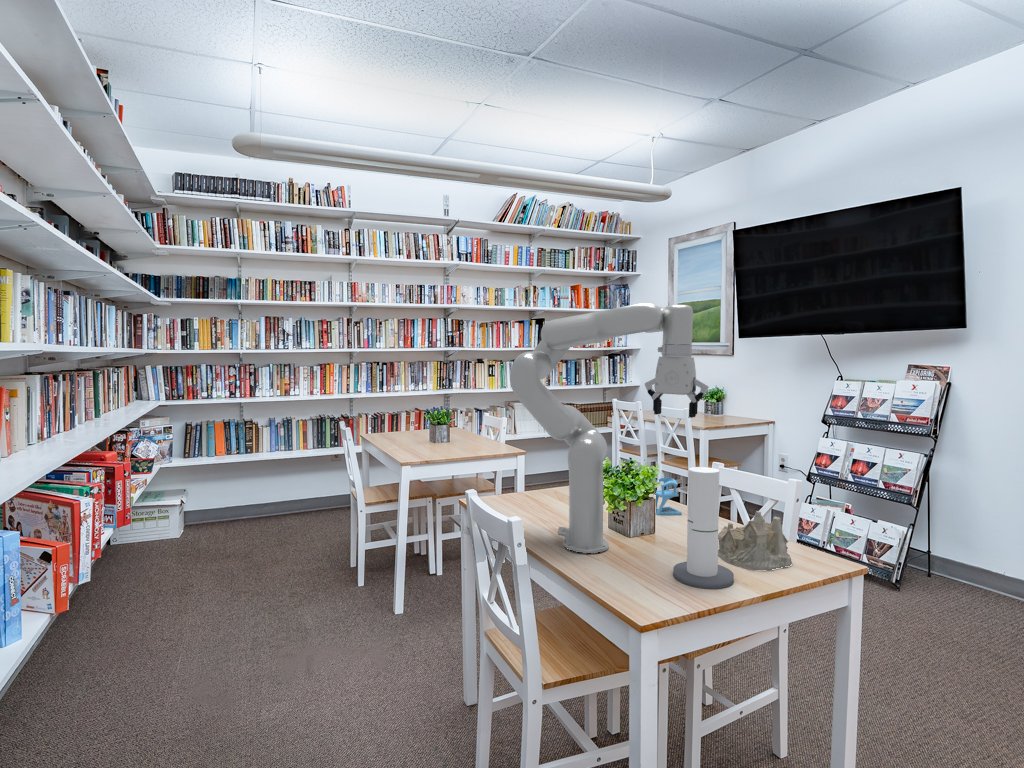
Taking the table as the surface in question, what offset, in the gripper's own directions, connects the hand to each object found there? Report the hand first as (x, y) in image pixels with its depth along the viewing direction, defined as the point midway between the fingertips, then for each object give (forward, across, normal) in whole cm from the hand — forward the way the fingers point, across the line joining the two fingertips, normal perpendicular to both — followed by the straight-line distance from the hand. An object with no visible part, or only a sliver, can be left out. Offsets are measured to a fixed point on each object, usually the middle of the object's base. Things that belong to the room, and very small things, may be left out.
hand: (674, 415), depth 155 cm
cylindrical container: (+36, +13, -10) cm, 40 cm away
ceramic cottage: (+38, +19, +10) cm, 44 cm away
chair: (+38, -18, +39) cm, 57 cm away
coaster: (+38, +13, -10) cm, 41 cm away
